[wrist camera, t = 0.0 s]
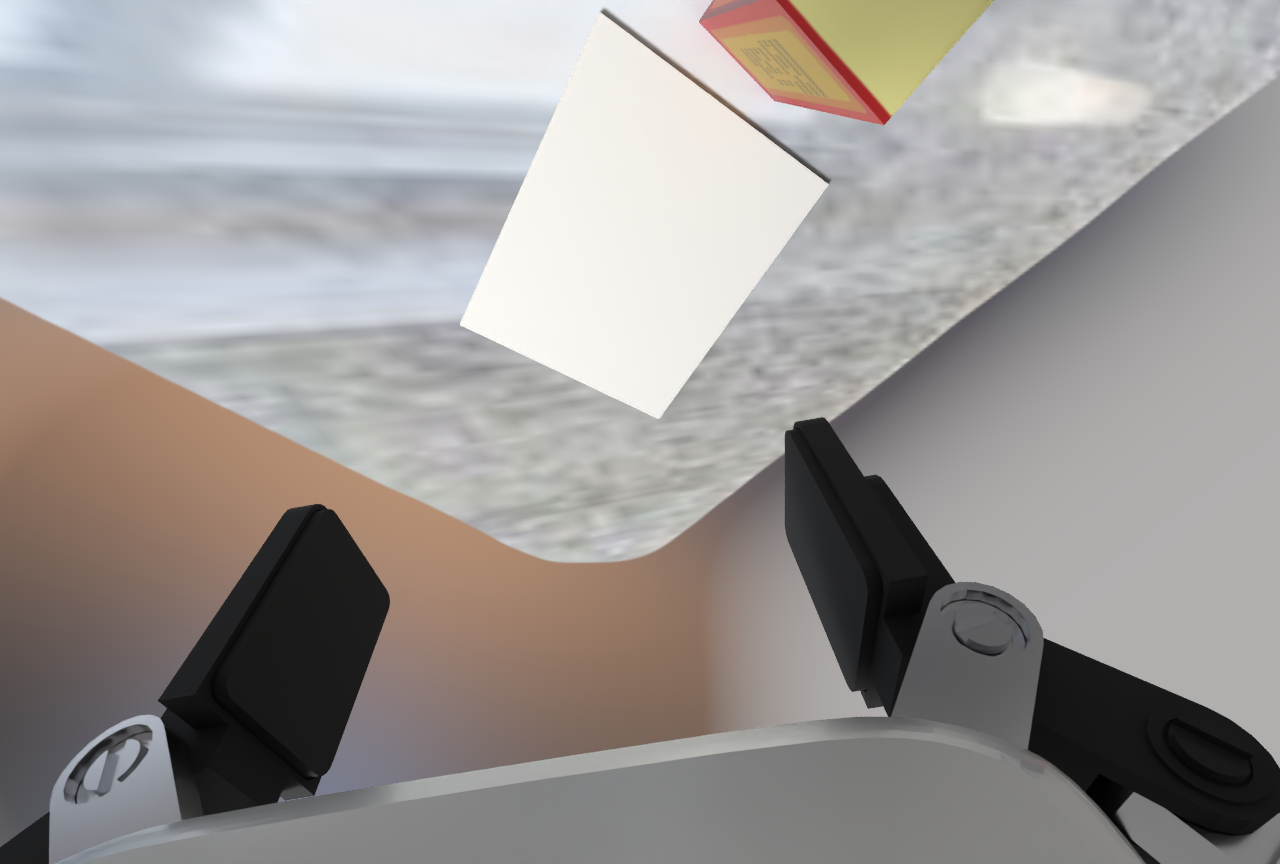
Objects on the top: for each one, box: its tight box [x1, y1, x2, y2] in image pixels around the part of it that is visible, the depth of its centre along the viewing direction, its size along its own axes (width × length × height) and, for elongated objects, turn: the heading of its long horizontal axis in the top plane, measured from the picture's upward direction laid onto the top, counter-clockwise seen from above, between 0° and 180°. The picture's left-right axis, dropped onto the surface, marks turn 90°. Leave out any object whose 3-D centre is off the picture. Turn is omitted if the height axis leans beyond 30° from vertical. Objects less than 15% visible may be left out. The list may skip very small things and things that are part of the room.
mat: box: [460, 12, 829, 419], centre depth 39 cm, size 22×18×1 cm
